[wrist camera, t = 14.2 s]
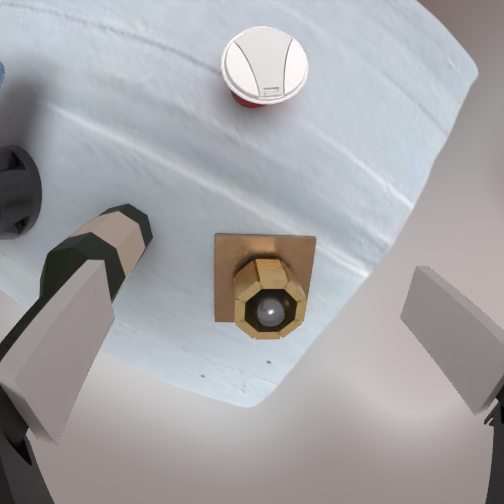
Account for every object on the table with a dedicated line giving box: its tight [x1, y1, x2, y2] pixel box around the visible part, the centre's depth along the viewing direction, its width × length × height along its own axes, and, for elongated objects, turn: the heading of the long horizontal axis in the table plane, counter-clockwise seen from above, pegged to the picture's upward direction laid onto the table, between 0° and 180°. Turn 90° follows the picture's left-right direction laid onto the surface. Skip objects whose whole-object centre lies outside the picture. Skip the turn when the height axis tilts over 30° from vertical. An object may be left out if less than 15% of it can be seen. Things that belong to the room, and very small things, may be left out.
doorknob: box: [215, 233, 316, 327], centre depth 39 cm, size 14×14×10 cm
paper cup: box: [221, 26, 308, 108], centre depth 27 cm, size 8×8×14 cm
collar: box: [233, 259, 307, 339], centre depth 38 cm, size 9×9×6 cm
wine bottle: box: [0, 204, 153, 350], centre depth 25 cm, size 8×8×30 cm
